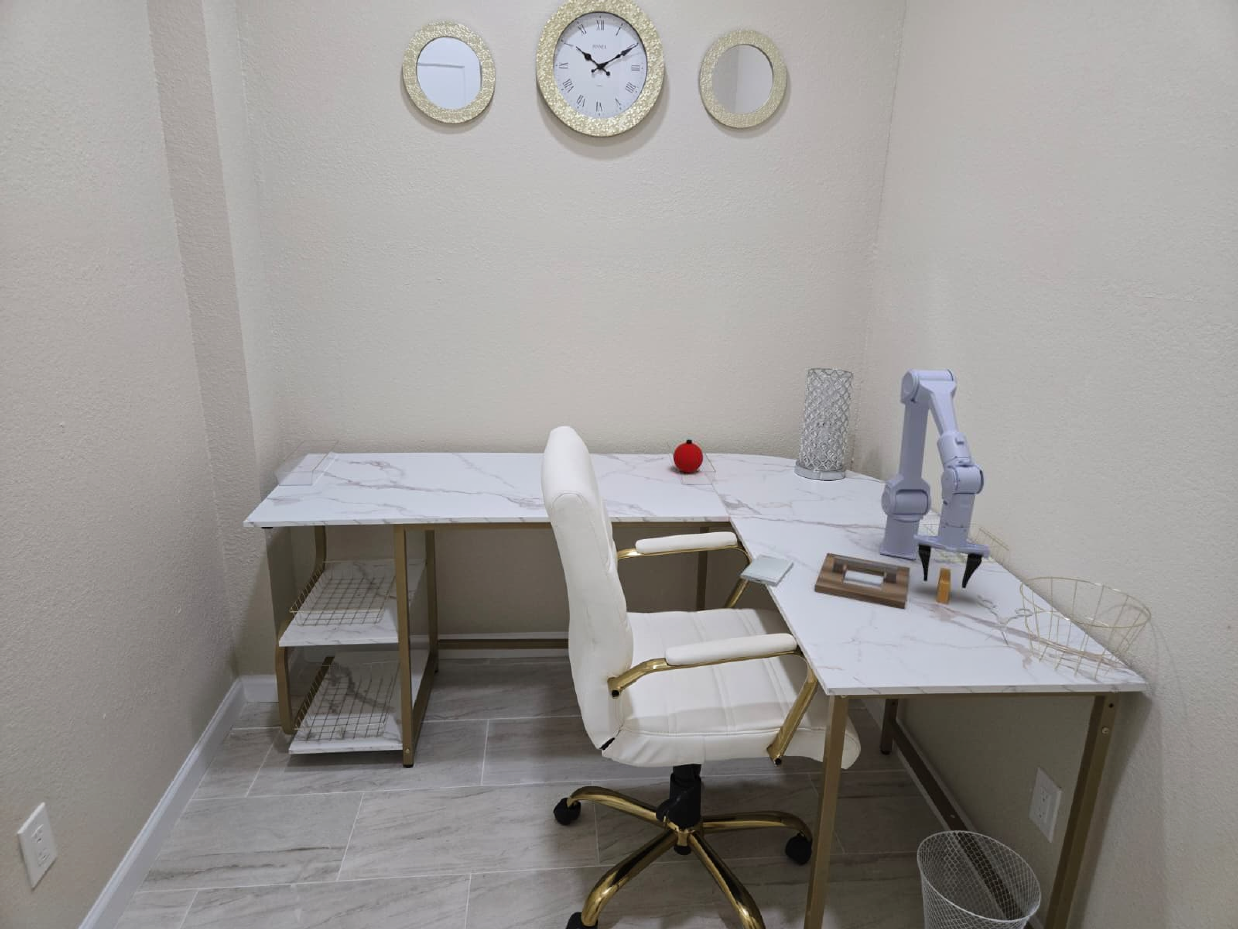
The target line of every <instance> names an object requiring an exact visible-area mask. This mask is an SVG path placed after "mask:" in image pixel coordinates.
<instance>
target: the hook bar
mask: <svg viewBox="0 0 1238 929" xmlns="http://www.w3.org/2000/svg"><path fill="white" fill-rule="evenodd" d="M844 565H848V566H853V567H859V568H864V569H870V570H875V571H881V572H886V573H887V574H886V581H885V582H888V583H894V584H895V582H896V576H897V569H898V567H895V566H889V565H884V564H878V563H873V562H867V561H862V560H856V559H850V558H845V557H839V556H835V558H834V564H833V572H835V573H841V574H842V572H843V567H844Z"/></svg>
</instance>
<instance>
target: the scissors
mask: <svg viewBox="0 0 1238 929" xmlns="http://www.w3.org/2000/svg"><path fill="white" fill-rule="evenodd" d="M977 597H978V598H980V599H979V600H978V604H979V605H980V606H982V607H984V608H986V609H987V610H990V613H991V614H993V615H995V616H996V617H995V618H996V621H997V620H998V621H997V623H1000V624H999V625H998V626H1005V627H1006V628H1005V627H1004V628H1003V629H1000V631H1001V630H1007V624H1008V623H1009V622H1010V621H1011V620H1012V619H1013V620H1014V619H1018V618H1019V617H1024V616H1025V614H1024V613H1021V612H1020V611H1027V612H1029V613H1028V614H1026V616H1027V617H1032V616H1033V615H1034V612H1033V610H1031V609H1029V608H1028V607H1027V608H1026V607H1018V608H1016V609H1014V612H1015V615H1011V616H1005V617H1002V616H1001V615H1000V614H999V613H998V612H996V611H995V610H994V608H996V607H997V604H996V602H994V601H992V600H989V599H986V598H985V597H983V596H982V594H977ZM984 602H986V603H990V604H991V605H986V604H984ZM1027 617H1026V618H1027ZM997 623H996V624H995V625H994V626H996V625H997ZM1006 623H1007V624H1006ZM991 630H994V629H993V628H992V629H991ZM1005 633H1007V634H1008V630H1007V632H1005ZM1006 637H1008V635H1007V636H1006Z"/></svg>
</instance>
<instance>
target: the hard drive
mask: <svg viewBox="0 0 1238 929" xmlns="http://www.w3.org/2000/svg"><path fill="white" fill-rule="evenodd" d="M794 564H795V563H794V561H793V560H789V559H784V558H780V557H776V556H770V555H766V554H758V555H757V556H756V557H755V559H754V560H752V562H751V563H750V564H749V565H748V566H747V567H746V568H745V569H744V570H743V572H741V574H740V575H739V576H740V577H739V578H740V579H742V580H745V581H746V580H747V581H751V582H755V583H757V584H762V585H766V586H770V587H775V588H777V587H778V586H779V585H780V584H781V583H782V581H783V580H784V579H783V578H785V577H786V576H787V575H788V574H787V573H789V572H790V571H791V570H792V568H793V567H794V566H793V565H794ZM790 569H791V570H790ZM786 574H787V575H786ZM785 575H786V576H785ZM782 579H783V580H782ZM764 582H765V583H764ZM779 583H780V584H779Z"/></svg>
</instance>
